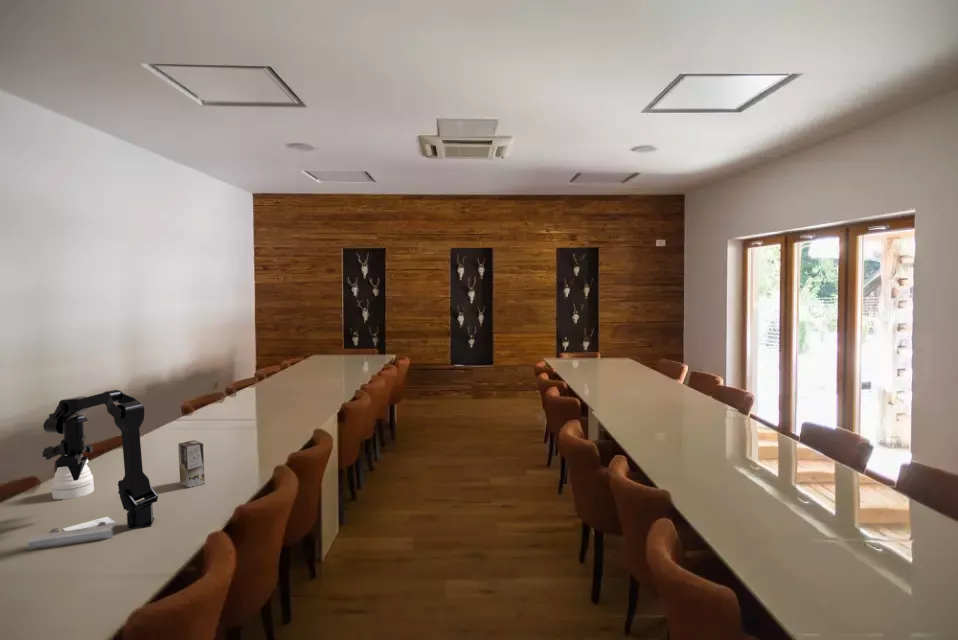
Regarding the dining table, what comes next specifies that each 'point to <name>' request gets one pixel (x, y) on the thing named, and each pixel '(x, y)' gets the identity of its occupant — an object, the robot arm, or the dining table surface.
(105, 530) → the grey door handle
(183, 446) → the coffee box
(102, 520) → the external hard drive
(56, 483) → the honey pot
